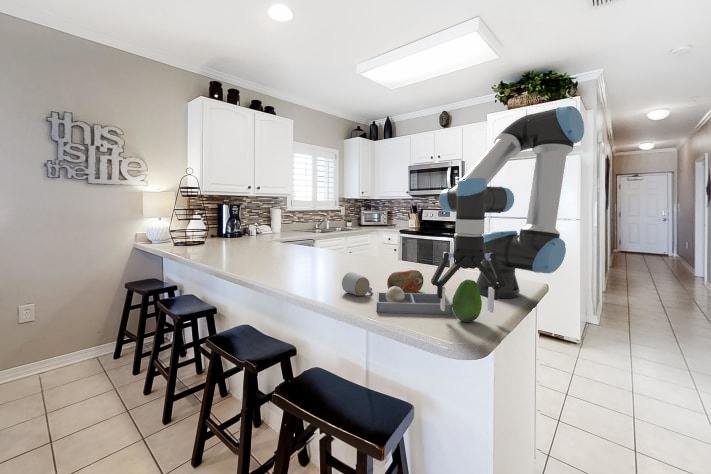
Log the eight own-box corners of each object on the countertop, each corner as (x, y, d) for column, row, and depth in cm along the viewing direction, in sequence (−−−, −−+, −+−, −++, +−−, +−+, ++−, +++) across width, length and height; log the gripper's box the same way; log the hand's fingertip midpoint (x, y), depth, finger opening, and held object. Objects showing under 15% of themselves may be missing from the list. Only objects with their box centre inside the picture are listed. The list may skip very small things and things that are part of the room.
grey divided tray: (444, 302, 110) (444, 294, 109) (452, 314, 98) (452, 304, 98) (376, 300, 111) (377, 292, 111) (376, 312, 100) (376, 302, 99)
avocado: (486, 322, 92) (488, 280, 90) (468, 328, 87) (470, 284, 86) (463, 314, 98) (465, 275, 97) (445, 319, 94) (446, 278, 93)
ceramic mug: (355, 298, 114) (356, 276, 113) (341, 293, 120) (341, 273, 119) (377, 293, 121) (377, 273, 120) (362, 289, 127) (362, 269, 126)
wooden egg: (403, 302, 108) (404, 284, 107) (405, 308, 102) (405, 289, 101) (385, 301, 108) (385, 284, 108) (385, 307, 102) (385, 288, 102)
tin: (390, 296, 117) (390, 273, 116) (385, 294, 120) (386, 271, 119) (423, 291, 124) (424, 269, 123) (418, 289, 126) (419, 268, 126)
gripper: (510, 234, 93) (506, 307, 95) (422, 233, 95) (420, 304, 97) (521, 236, 86) (517, 316, 88) (425, 235, 87) (423, 313, 90)
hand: (466, 310), depth 92 cm, fingers open, 12 cm apart
